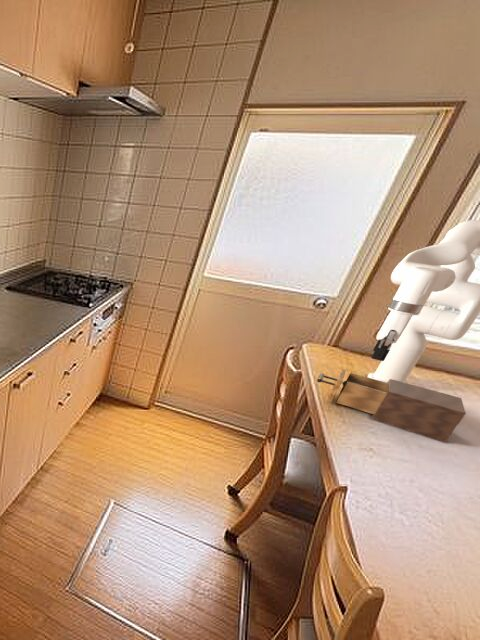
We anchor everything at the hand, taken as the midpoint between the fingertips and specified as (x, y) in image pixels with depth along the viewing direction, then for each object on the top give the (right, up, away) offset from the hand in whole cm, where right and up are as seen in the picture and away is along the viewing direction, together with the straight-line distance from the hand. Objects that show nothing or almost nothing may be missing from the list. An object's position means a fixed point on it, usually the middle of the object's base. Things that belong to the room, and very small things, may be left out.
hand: (378, 355), depth 142 cm
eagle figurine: (-3, -14, +6) cm, 16 cm away
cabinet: (+9, -23, -1) cm, 24 cm away
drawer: (-2, -16, +9) cm, 18 cm away
